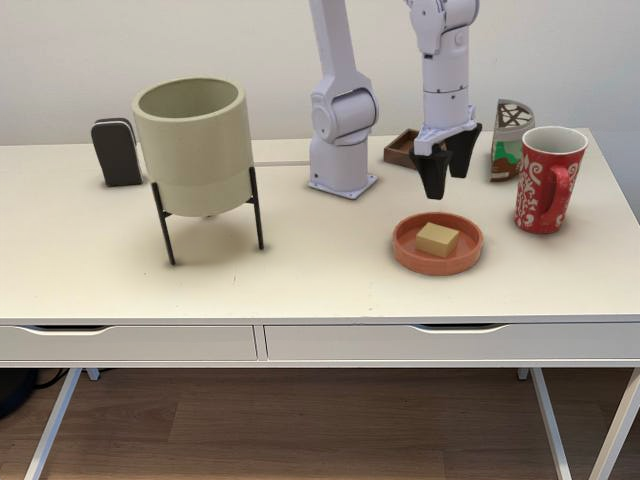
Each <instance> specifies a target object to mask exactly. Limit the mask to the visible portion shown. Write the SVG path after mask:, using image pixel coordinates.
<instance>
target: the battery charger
mask: <svg viewBox="0 0 640 480" xmlns="http://www.w3.org/2000/svg"><path fill="white" fill-rule="evenodd" d="M90 136H91V141H92V145H93V149H94V151H95V154H96V158H97V160H98V164H99V166H100V169H101V172H102V175H103V178H104V182H105V185H106V186H108V187H109V186H112V187H113V186H127V185H128V186H130V185H136V184H142V183H143V181H144V175H143V171H142V168H141V164H140V160H139V154H138V149H137V145H138V143H137V139H136V135H135V131H134V127H133V125H132V123H131V121H130V120H128V119H127V118H126V117H107V118H100V119H97V120H95V121H94V123H93V124H92V126H91V128H90Z"/></svg>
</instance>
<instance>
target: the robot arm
mask: <svg viewBox="0 0 640 480" xmlns="http://www.w3.org/2000/svg"><path fill="white" fill-rule="evenodd" d="M403 2H404V3H405V4H406V5H407V6H408V8H409V9H410V10H409V11H408V13H409V14H408V15H409V20H410V24H411V27H412V29H413V31H414V32H415V35H416V45H417V46H416V47H417V48H418V51H419V53H421V71H422V98H423V122H422V124H421V127H420V130H419V131H420V132H419V135H418V137H417V138H416V139H415V140H414V146H413V147H412V148H411V149H410V150H409V158H410V159H411V161H412V162H413V163H414V165H415V167H416V168H417V172H418V175H419V178H420V180H421V184H422V186H423V190H424V192H425V196H426V199H428V200H434V201H442V200H443V199H444V196H445V189H446V180H447V172H448V171H449V175H450V177H451V178H454V179H466V178H467V176H468V172H469V168H470V163H471V159H472V155H473V151H474V147H475V145H476V143H477V141H478V138H479V136H480V134H481V133H482V131H483V123H481V122H478V121H477V120H475V119H476V104H472V103H471V104H470V103H469V85H470V82H469V79H470V78H469V77H470V76H469V75H470V74H469V73H470V72H469V71H470V65H469V63H470V61H469V58H470V52H469V51H470V36H469V35H470V26H471V25H473V24H474V23H475V21H476V20H477V18H478V15H479V12H480V7H481V6H480V4H481V0H403ZM308 4H309V5H308V6H309V9H310V10H309V11H310V15H311V20H312V25H313V32H314V35H315V42H316V47H317V52H318V57H319V62H320V67H321V72H322V77H321V79H320V80H319V82H318V83H317V84H316V86H315V87H314V89H313V90H312V91H311V93H310V99H311V122H312V126H313V129H314V131H315V132H314V134H313V135H312V137H311V140H310V143H309V150H308V153H309V154H308V155H309V174H310V175H309V176H310V181H309V182H308V186H307V187H310V188H312V189H316V190H320V191H323V192H326V193H329V194H333V195H336V196H339V197H343V198H347V199H350V200H356V199H357V198H358V197H359V196H361V195H362V194H363V193H364V192H365V191H367V189H369V187H371V186H372V185H373V184H374V183H375V182H376V181H377V180H378V177H377V176H375V175H371V174H368V161H369V160H368V156H369V153H368V151H369V148H368V147H369V135H371V134H372V133H373V132H372V131H373V130H372V128H373V127H374V126H375V125H377V123H378V121H379V118H380V104H379V101H378V98H377V96H376V95H375V93H374V89H373V84H372V80H371V78H370V77H369V76H367V75H365V74H363V73H362V72H360V71H359V70H357V66H356V59H355V53H354V48H353V43H352V42H353V41H352V35H351V29H350V25H349V24H350V23H349V17H348V12H347V6H346V0H308ZM443 140H444V142H445V145H446V149H447V151H446V150H442V148H441V147H440V148H439V143H440V142H441V141H443Z"/></svg>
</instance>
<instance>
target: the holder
mask: <svg viewBox="0 0 640 480" xmlns="http://www.w3.org/2000/svg"><path fill="white" fill-rule="evenodd" d="M419 132H420V130H417V129H414V128H407V129H405V130H404V131H403V132H402V133H400V134H399V135H398V136H397V137H396V138H395V139H393V140H392V141H391V142H390V143H388V145H386V146H384V148H383V159H382V160H383V162H385V163H389V164H393V165H397V166H401V167H405V168H409V169H412V170H417V168H416V167H415V165H414V163H413V162H412V161H411V159H410V158H409V150H410V149H411V148H412V147H413V146H414V140H415V139H416V138H417V137H418V135H419ZM440 147H441V148H442V150H446V151H447V149H446V145H445V142H444V140H443V141H441V142H440V143H439V148H440ZM417 171H418V170H417Z"/></svg>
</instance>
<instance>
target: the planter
mask: <svg viewBox="0 0 640 480" xmlns="http://www.w3.org/2000/svg"><path fill="white" fill-rule="evenodd" d="M131 110H132V114H133V119H134V123H135V127H136V131H137V135H138V140H139V144H140V147H141V152H142V156H143V160H144V164H145V165H144V166H145V169H146V173H147V176H148V181H149V184H150V190H151V193H152V197H153V201H154V203H155V207H156V211H157V215H158V219H159V223H160V228H161V231H162V236H163V240H164V245H165V248H166V253H167V257H168V260H169V264H170V265H171V266H174V265H176V259H175V254H174V251H173V246H172V243H171V237H170V233H169V230H168V225H167V221H166V219H167V218H169V217H170V216H173V215H175V216H180V217H185V218H203V217H207V218H210V217H213V216H218V215H220V214H224V213H227V212H230V211H232V210H235V209H237V208H239V207H241V206H242V205H243V204H250V205H253V210H254V219H255V220H254V221H255V226H256V235H257V243H258V249H259V250H261V251H264V249H265V243H264V233H263V226H262V225H263V224H262V217H261V208H260V200H259V191H258V183H257V175H256V167H255V160H254V152H253V145H252V135H251V128H250V126H251V125H250V119H249V110H248V102H247V93H246V89H245V87H244V86H243V85H242V83H240V82H239V81H236V80H234V79H232V78H228V77H224V76H219V75H211V74H210V75H207V74H196V75H186V76H185V75H184V76H180V77H174V78H170V79H166V80H162V81H159V82H156V83H154V84H151V85H150V86H149V85H148V86H147V87H146V88H143V89H142V90H141V91H140V92H138V93H137V94H136V95H135V97H133V99H132V101H131Z"/></svg>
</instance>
